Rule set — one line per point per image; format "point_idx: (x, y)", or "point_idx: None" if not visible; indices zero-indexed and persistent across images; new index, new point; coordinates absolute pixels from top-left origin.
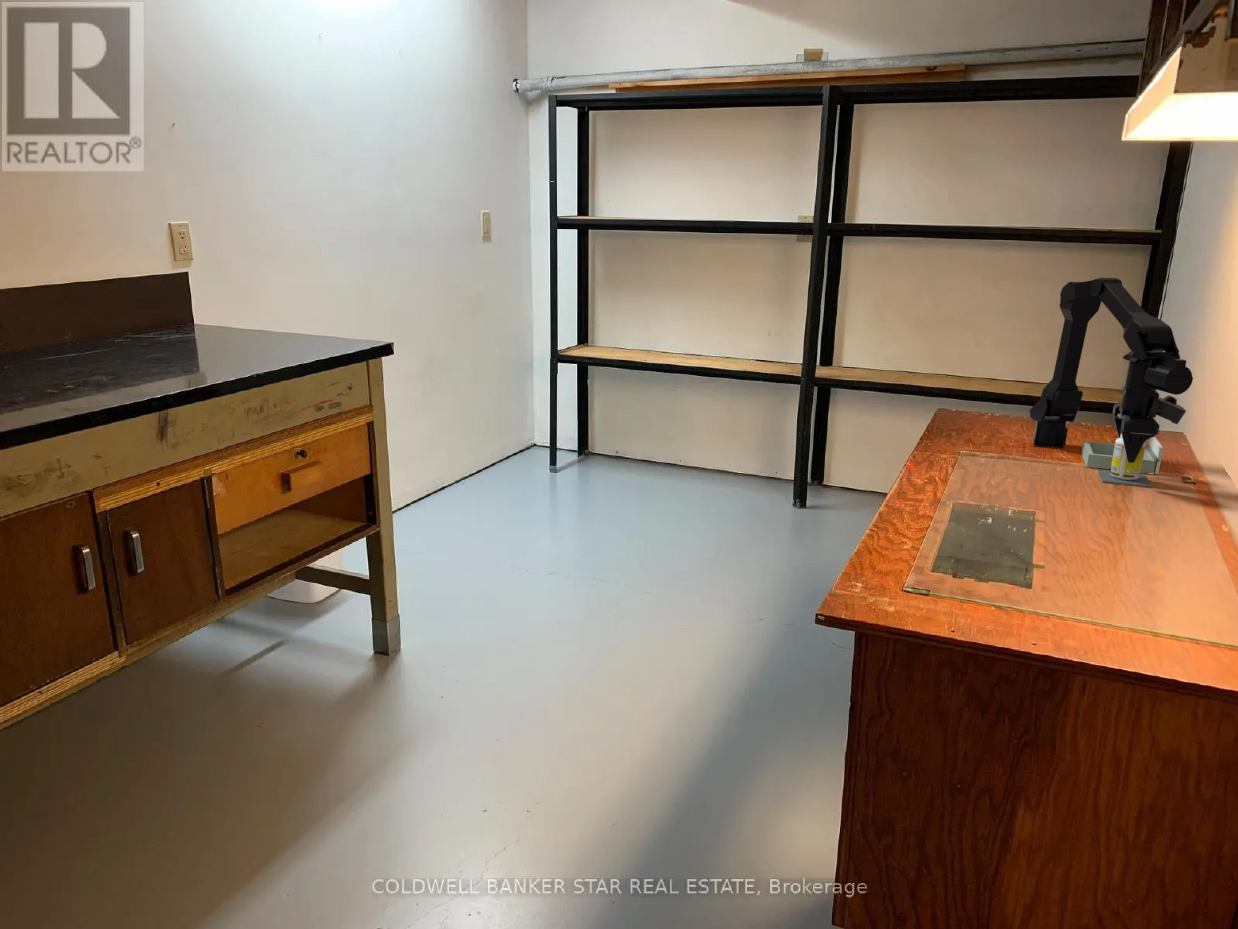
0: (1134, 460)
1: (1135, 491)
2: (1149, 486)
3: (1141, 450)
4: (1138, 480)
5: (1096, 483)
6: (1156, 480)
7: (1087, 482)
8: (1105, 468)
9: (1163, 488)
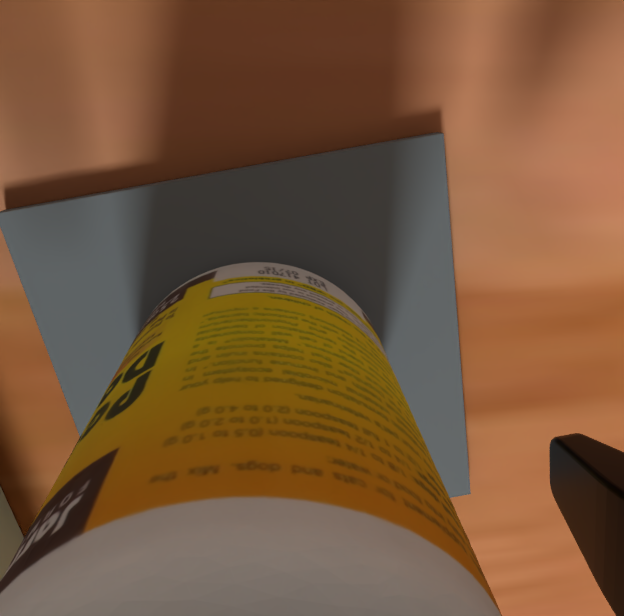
0: (604, 450)
1: (618, 254)
2: (444, 152)
3: (404, 479)
4: (296, 257)
5: (507, 510)
6: (91, 91)
7: (509, 557)
8: (8, 516)
9: (387, 14)
